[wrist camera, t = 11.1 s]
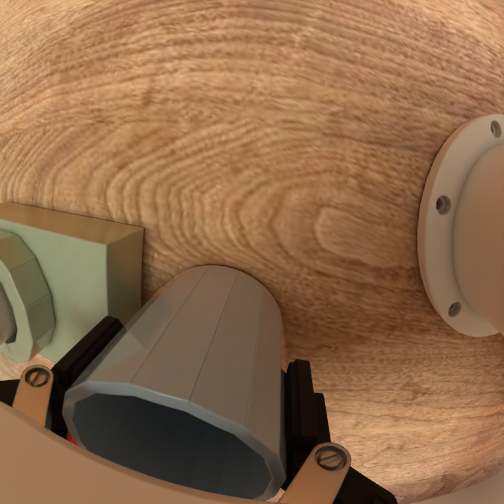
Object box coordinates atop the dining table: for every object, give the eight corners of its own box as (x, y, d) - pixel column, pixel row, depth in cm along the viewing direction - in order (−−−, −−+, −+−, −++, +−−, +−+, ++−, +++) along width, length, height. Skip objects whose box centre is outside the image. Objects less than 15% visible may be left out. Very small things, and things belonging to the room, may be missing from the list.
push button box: (144, 227, 14) (75, 260, 8) (142, 356, 16) (100, 416, 11) (7, 201, 14) (-52, 217, 9) (17, 303, 16) (-30, 333, 11)
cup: (297, 279, 13) (319, 422, 5) (268, 387, 15) (258, 520, 7) (157, 252, 14) (39, 344, 5) (154, 361, 15) (89, 472, 7)
